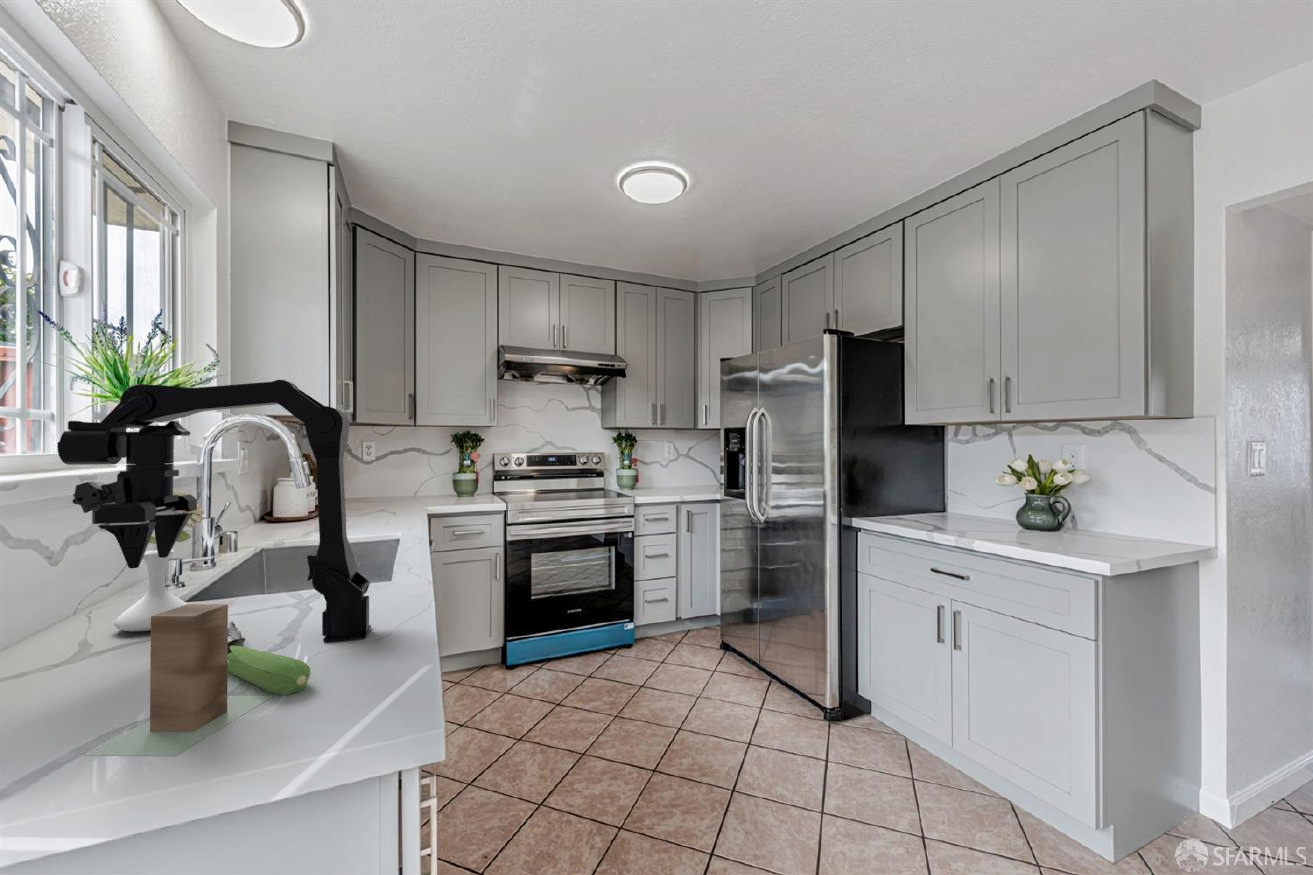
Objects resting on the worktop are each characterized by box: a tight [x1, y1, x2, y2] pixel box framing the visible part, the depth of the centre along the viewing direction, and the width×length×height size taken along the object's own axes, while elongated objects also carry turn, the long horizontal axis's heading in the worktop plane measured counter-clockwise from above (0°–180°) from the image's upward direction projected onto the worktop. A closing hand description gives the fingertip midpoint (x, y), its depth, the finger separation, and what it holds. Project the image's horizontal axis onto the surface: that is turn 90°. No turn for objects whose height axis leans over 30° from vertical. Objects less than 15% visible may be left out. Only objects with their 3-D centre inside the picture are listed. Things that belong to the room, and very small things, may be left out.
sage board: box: [83, 695, 274, 757], centre depth 68 cm, size 14×10×1 cm
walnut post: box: [149, 603, 229, 732], centre depth 68 cm, size 5×5×13 cm
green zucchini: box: [227, 646, 312, 696], centre depth 81 cm, size 5×20×5 cm
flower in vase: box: [113, 489, 205, 632], centre depth 107 cm, size 13×11×25 cm
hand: (149, 562), depth 92 cm, fingers open, 9 cm apart
